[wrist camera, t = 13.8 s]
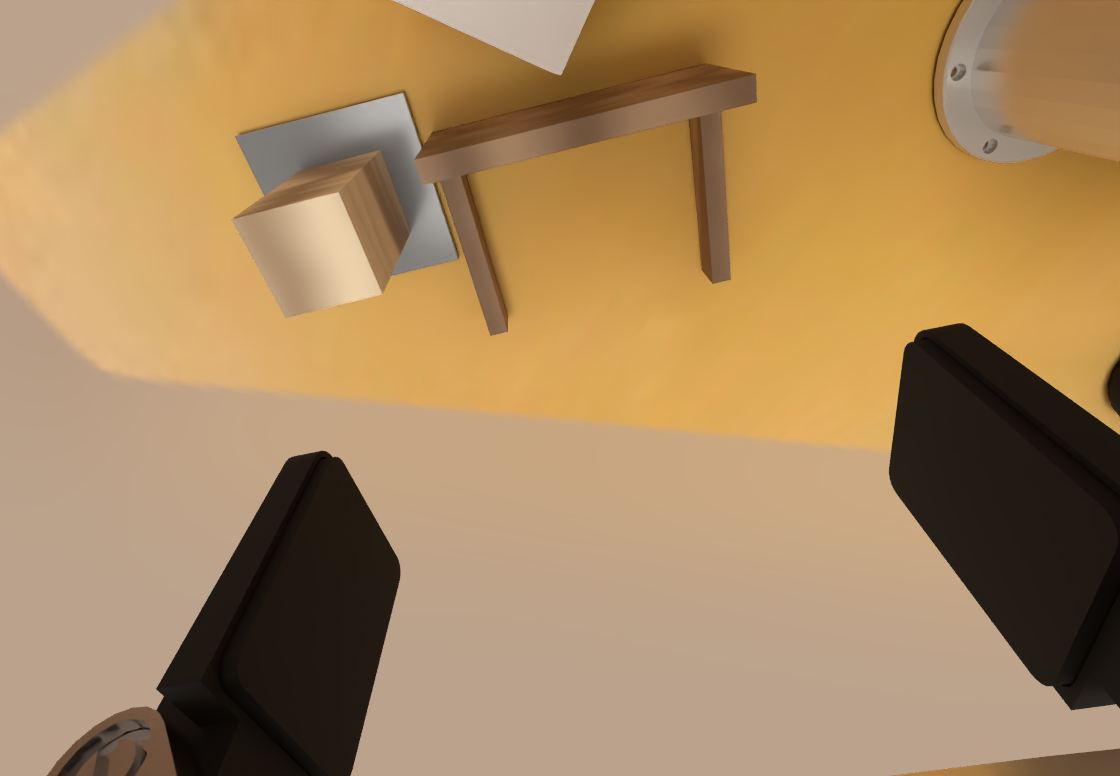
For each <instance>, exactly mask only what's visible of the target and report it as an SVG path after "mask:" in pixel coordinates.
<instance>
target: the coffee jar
mask: <svg viewBox="0 0 1120 776" xmlns="http://www.w3.org/2000/svg"><path fill="white" fill-rule="evenodd" d="M1108 389H1109V397H1110V399H1111V405H1112V407H1113V408H1114V410H1115V411H1116V412H1117V414H1118V415H1119V416H1120V361H1119V362H1118V364H1117V365H1116V367H1115V368H1114V369H1113V371H1112V374H1111V377H1110V380H1109V383H1108Z"/></svg>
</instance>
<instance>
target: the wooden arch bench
mask: <svg viewBox="0 0 1120 776" xmlns="http://www.w3.org/2000/svg"><path fill="white" fill-rule="evenodd" d="M756 102H757V95H756V74H754V73H749V72H744V71H739V70H734V69H729V68H724V67H720V66H715V65H710V64H701V65H697V66H694V67H690V68H686V69H682V70H678V71H674V72H670V73H666V74H662V75H658V76H654V77H650V78H646V79H642V80H638V81H634V82H631V83H627V84H623V85H619V86H615V87H611V88H607V89H603V90H599V91H595V92H591V93H587V94H583V95H579V96H575V97H571V98H568V99H564V100H560V101H556V102H552V103H548V104H544V105H540V106H536V107H532V108H528V109H524V110H520V111H516V112H512V113H508V114H505V115H501V116H497V117H493V118H489V119H485V120H481V121H477V122H473V123H469V124H465V125H461V126H457V127H453V128H449V129H445V130H442V131H438V132H434V133H432V134H431V135H430V137H429V138H428V140H427V141H426V143H425V144H424V146H423V147H422V149H421V150H420V152H419V153H418V155H417V156H416V158H415V159H414V162H415V165H416V168H417V171H418V174H419V177H420V180H421V183H422V186H423V185H427V184H431V183H435V182H439V181H441V184H442V187H443V190H444V193H445V196H446V199H447V203H448V206H449V209H450V212H451V215H452V218H453V221H454V224H455V227H456V230H457V233H458V237H459V240H460V243H461V246H462V249H463V252H464V255H465V258H466V261H467V264H468V267H469V271H470V274H471V277H472V280H473V283H474V286H475V289H476V292H477V295H478V298H479V301H480V305H481V308H482V311H483V314H484V317H485V320H486V323H487V326H488V329H489V332H490V335H491V336H492V335H496V334H500V333H504V332H508V315H507V312H506V308H505V305H504V301H503V298H502V295H501V291H500V288H499V285H498V281H497V278H496V275H495V271H494V268H493V265H492V261H491V258H490V254H489V251H488V248H487V244H486V241H485V238H484V234H483V231H482V228H481V224H480V221H479V218H478V214H477V211H476V208H475V204H474V201H473V197H472V194H471V191H470V187H469V184H468V181H467V177H466V175H467V174H471V173H475V172H479V171H483V170H487V169H491V168H495V167H499V166H503V165H507V164H511V163H515V162H519V161H523V160H527V159H531V158H535V157H539V156H543V155H547V154H551V153H555V152H559V151H563V150H567V149H571V148H575V147H579V146H583V145H587V144H591V143H595V142H599V141H603V140H607V139H611V138H615V137H619V136H623V135H627V134H631V133H635V132H639V131H643V130H647V129H651V128H655V127H659V126H663V125H667V124H671V123H675V122H679V121H683V120H687V119H689V124H690V136H691V148H692V160H693V171H694V183H695V195H696V207H697V218H698V230H699V242H700V254H701V265H702V271H703V272H704V273H705V275H706V276H707V277H708V278H709V280H710V281H711V282H712V283H713V284H714V283H718V282H722V281H727V280H731V276H730V259H729V241H728V223H727V205H726V187H725V169H724V152H723V134H722V116H721V111H724V110H728V109H732V108H736V107H740V106H744V105H748V104H752V103H756Z"/></svg>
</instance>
